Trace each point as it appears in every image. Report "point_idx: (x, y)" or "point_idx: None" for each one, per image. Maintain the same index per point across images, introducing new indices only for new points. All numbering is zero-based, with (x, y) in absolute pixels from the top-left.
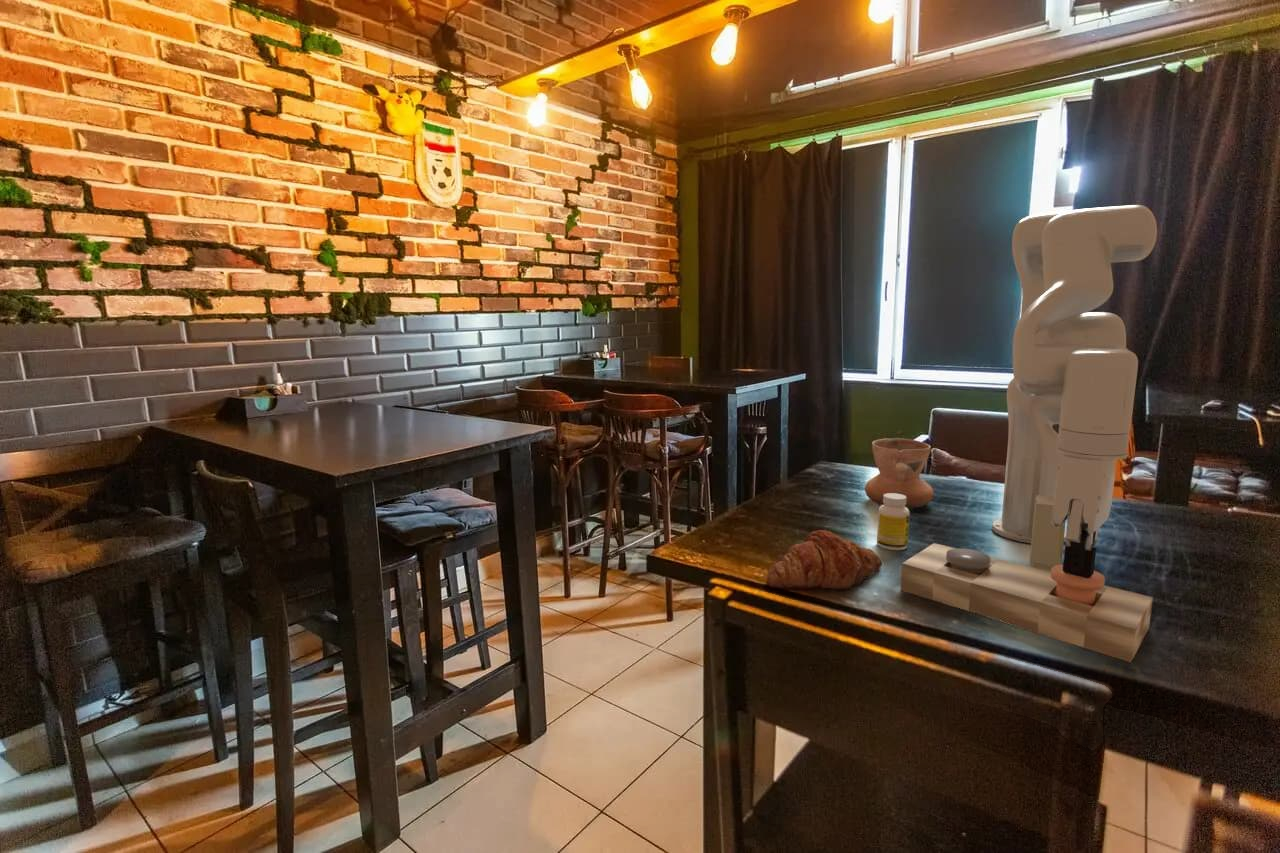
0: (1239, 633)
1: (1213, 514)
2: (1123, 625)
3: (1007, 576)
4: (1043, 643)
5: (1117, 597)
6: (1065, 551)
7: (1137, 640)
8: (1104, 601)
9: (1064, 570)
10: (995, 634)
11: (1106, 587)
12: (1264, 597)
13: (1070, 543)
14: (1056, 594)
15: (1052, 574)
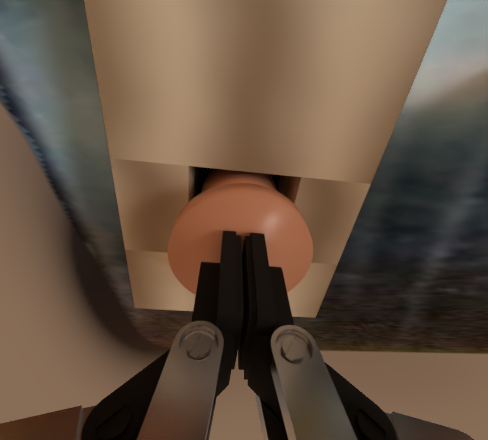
0: (344, 335)
1: None
2: (135, 295)
3: (262, 12)
4: (102, 147)
5: None
6: (219, 289)
7: None
8: None
9: (222, 235)
10: (44, 40)
11: (327, 262)
12: (483, 351)
13: (150, 364)
14: (223, 179)
15: (205, 197)
